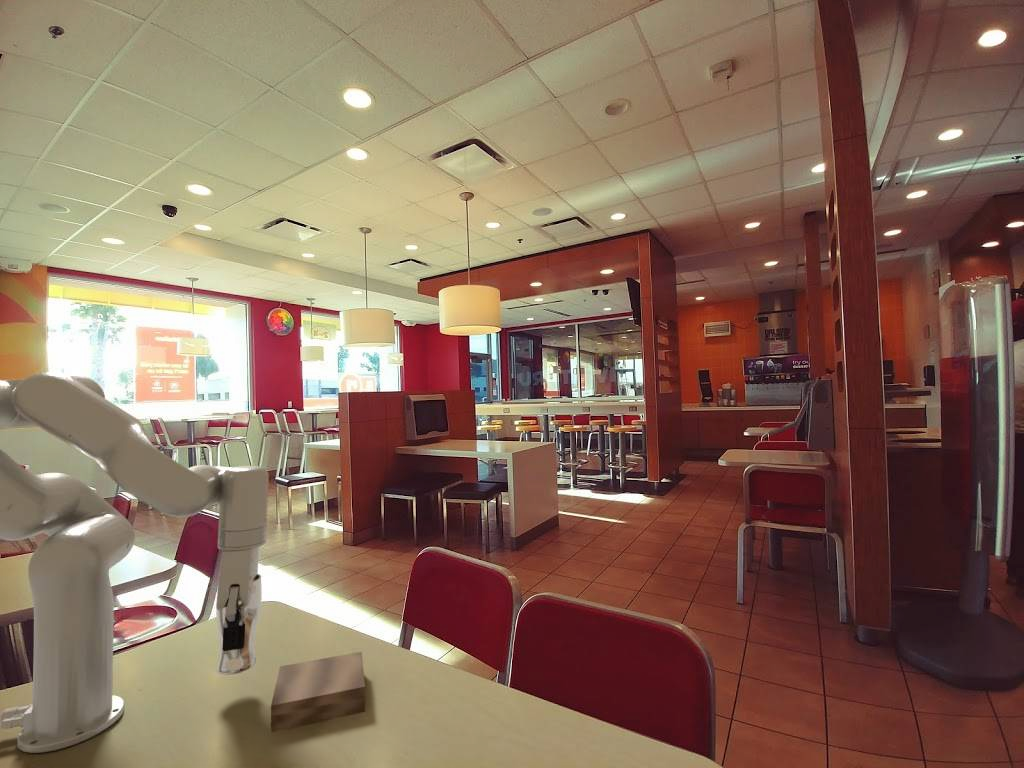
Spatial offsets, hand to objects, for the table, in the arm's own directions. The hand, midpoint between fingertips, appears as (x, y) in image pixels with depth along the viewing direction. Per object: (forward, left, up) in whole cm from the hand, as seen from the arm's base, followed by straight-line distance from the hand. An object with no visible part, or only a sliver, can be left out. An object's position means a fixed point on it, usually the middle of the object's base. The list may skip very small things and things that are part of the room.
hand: (237, 638), depth 85 cm
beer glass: (0, 0, -5) cm, 5 cm away
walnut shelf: (+14, -7, -10) cm, 18 cm away
